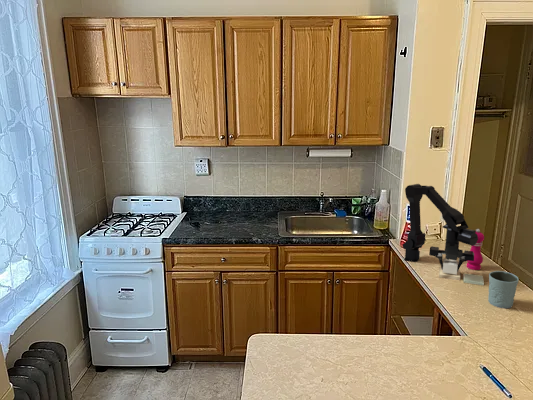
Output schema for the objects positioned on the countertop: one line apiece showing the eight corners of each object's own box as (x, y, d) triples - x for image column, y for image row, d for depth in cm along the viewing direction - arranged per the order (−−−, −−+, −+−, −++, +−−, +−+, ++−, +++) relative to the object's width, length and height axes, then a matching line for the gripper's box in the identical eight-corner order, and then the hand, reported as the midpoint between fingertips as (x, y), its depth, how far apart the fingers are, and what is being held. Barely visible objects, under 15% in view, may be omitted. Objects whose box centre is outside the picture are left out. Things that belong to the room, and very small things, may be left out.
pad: (463, 282, 177) (463, 280, 177) (463, 275, 184) (463, 273, 184) (483, 285, 174) (483, 283, 174) (482, 277, 181) (482, 276, 181)
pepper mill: (483, 271, 188) (488, 231, 183) (467, 270, 189) (472, 230, 184) (479, 265, 195) (483, 226, 190) (463, 264, 196) (467, 226, 191)
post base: (438, 277, 183) (439, 266, 182) (439, 269, 191) (440, 259, 190) (459, 280, 179) (461, 269, 178) (459, 272, 187) (460, 261, 186)
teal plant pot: (513, 299, 161) (516, 273, 158) (516, 311, 152) (520, 283, 149) (485, 295, 165) (488, 269, 162) (486, 306, 157) (490, 279, 154)
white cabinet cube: (442, 272, 183) (443, 263, 182) (442, 267, 188) (443, 258, 187) (456, 274, 181) (457, 265, 180) (456, 269, 186) (457, 260, 185)
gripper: (429, 242, 177) (427, 274, 181) (476, 247, 170) (472, 280, 174) (431, 234, 187) (428, 264, 191) (475, 239, 180) (471, 270, 183)
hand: (449, 270), depth 185 cm, fingers closed on white cabinet cube, 6 cm apart
